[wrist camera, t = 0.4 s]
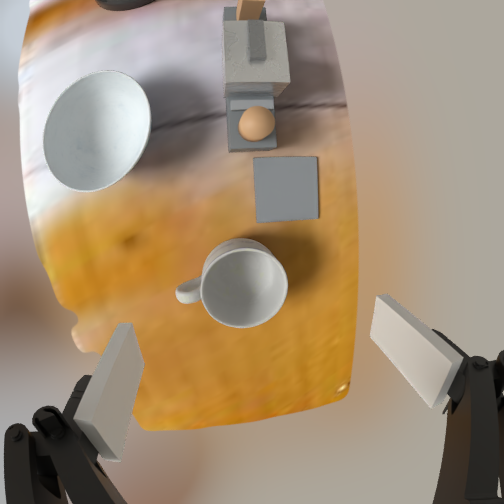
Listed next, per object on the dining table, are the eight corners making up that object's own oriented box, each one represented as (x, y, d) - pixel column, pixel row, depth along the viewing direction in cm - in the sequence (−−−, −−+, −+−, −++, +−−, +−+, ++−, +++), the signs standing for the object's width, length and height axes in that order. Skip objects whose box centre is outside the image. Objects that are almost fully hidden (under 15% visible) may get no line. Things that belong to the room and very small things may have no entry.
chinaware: (74, 95, 29) (49, 82, 22) (167, 82, 32) (157, 63, 24) (68, 190, 34) (41, 196, 26) (161, 186, 36) (147, 189, 28)
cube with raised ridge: (221, 43, 27) (223, 16, 20) (273, 43, 27) (286, 18, 21) (223, 97, 29) (226, 79, 22) (277, 97, 30) (293, 79, 23)
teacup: (278, 234, 40) (293, 249, 32) (271, 303, 43) (283, 329, 35) (180, 230, 38) (172, 245, 30) (181, 301, 41) (175, 329, 33)
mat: (253, 158, 36) (253, 158, 36) (315, 156, 37) (316, 156, 37) (256, 222, 39) (257, 223, 38) (317, 218, 40) (318, 218, 39)
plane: (222, 23, 30) (227, -22, 18) (259, 23, 30) (276, -21, 19) (228, 152, 36) (235, 142, 24) (269, 150, 36) (292, 140, 25)
